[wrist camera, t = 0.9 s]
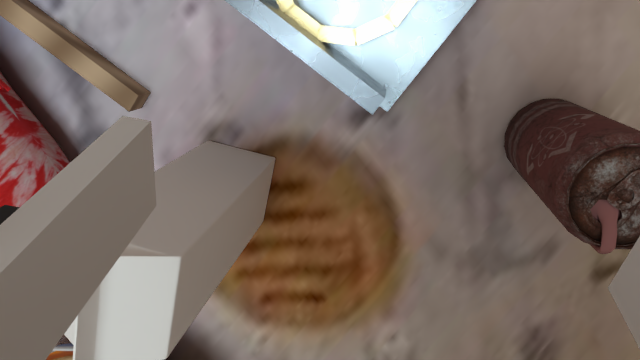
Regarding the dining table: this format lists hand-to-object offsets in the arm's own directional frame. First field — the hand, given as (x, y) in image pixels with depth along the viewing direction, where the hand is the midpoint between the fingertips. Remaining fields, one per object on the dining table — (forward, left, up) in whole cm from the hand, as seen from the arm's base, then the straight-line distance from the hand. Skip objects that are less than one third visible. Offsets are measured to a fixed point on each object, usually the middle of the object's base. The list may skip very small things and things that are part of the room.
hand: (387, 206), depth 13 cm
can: (-11, -4, -26) cm, 29 cm away
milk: (+6, +14, -26) cm, 30 cm away
